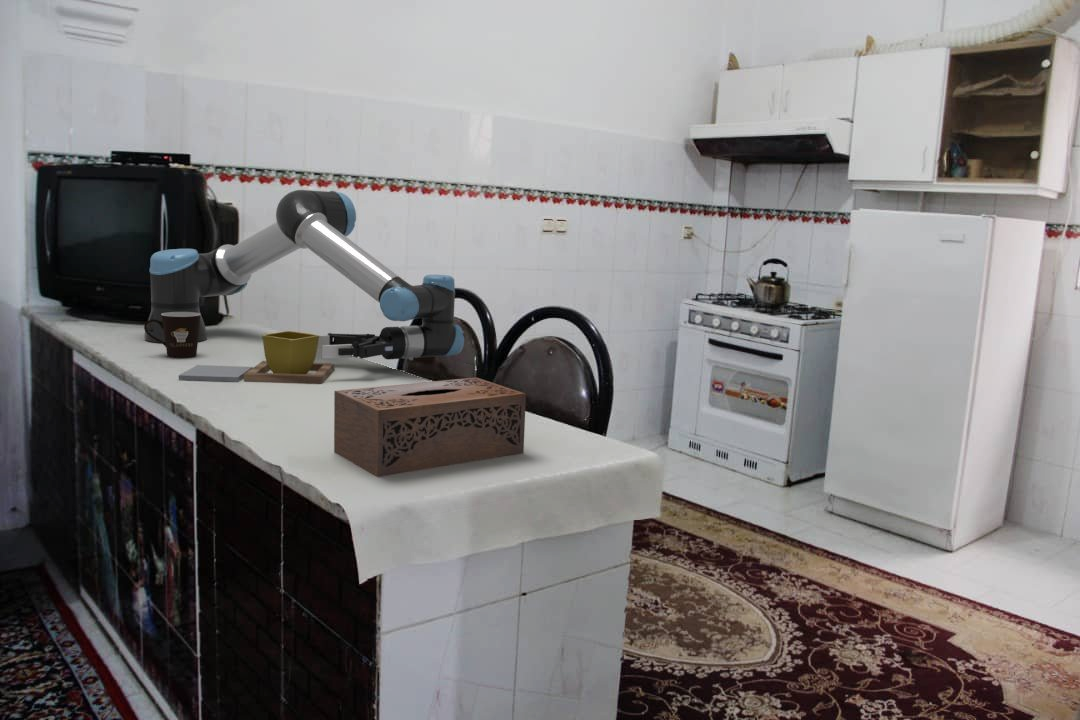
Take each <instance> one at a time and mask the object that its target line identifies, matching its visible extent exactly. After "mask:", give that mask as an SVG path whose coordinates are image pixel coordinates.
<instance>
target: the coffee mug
mask: <svg viewBox="0 0 1080 720" xmlns="http://www.w3.org/2000/svg"><path fill="white" fill-rule="evenodd" d="M200 316H202V313H200V314H199V313H193V312H169V313H163V314H161V317H162V322H161V321H159V320H156V319H152V320H149V321H148V320H147V321H146V322H145V324H144V326H143V327H144V328H143V330H144V333H145V332H146V333H147V334H148V335H149V336H150V337H151V338H153V339H155V340H156V341H158V342H157V343H159V342H160V344H162V345H163V347H165V348H166V349H165V350H166V354H167V355H166V356H167V358H170V359H192V358H196V357H197V355H198V354H197V352H198V346H199V345H198V344H199V343H198V342H199V341H198V335H199V326H200ZM150 322H157V323H158V324H160V326H161V327H162V329H163V330H164V336H165V342H163V341H161V340H159V339H158V338H156V337H154V336H153V335H151V334H150V333H149V332H148V331H147V328H146V327H147V324H148V323H150Z"/></svg>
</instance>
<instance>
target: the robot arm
mask: <svg viewBox="0 0 1080 720" xmlns="http://www.w3.org/2000/svg"><path fill="white" fill-rule="evenodd" d="M275 218H276V221H275V222H274V223H272V224H271V225H269V226H267V227H264V228H263V229H261V230H259V231H258V232H256V233H254V234H252V235H250V236H249V237H248V238H245V239H244V240H241V241H239V243H237V244H235V245H233V244H228V243H227V244H223V245H221V246H219V247H218V248H217V247H216V249H214V250H212V251H210V252H206V253H199V252H198V250H197V249H194V248H176V249H174V248H173V249H165V250H159V251H157V252H154V253H153V254H152V255H151V257H150V259H149V260H150V264H149V266H150V267H149V275H150V277H149V278H150V301H151V304H150V305H151V308H150V314H149V317H148V319H147V321H149V320H152V319H156V320H159V321H161V322H162V317H161V314H163V313H169V312H193V313H199V314H201V312H200V298H205V297H206V298H207V297H218V296H219V297H220V296H223V297H224V296H225V297H226V296H232V295H235V294H238V293H240V292H242V291H243V290H244V289H245V288H246V287H247V286H248V282H249V281H250V280H251V277H252V275H253V274H254V273H255V272H258V271H259V270H262V269H264V268H266V267H267V266H269V265H271V264H273V263H276V262H277V261H279V260H280V259H282V258H285V257H286V256H288V255H290V254H292V253H293V252H296V251H297V250H299V249H308V250H309V251H311V252H312V253H313V254H314V255H316V256H318V257H319V258H320V259H321V260H323V261H324V262H325V263H326V264H328V265H329V266H331V267H332V268H333V269H334V270H336V271H338V273H340V274H341V275H343V276H344V277H345V278H347V279H348V280H349V281H350V282H351V283H353V285H356V286H357V287H358V288H359V289H361V290H362V291H363V292H364V293H366V294H367V295H368V296H370V297H371V298H372V299H374V300H375V301H376V302H377V303H379V308H380V310H381V313H382V315H383V316H384V317H385V318H386V319H387V320H390V321H392V322H393V321H394V322H407V321H412V320H418V319H421V322H422V323H421V325H403V326H400V327H399V326H386V327H383V328H382V329H381V331H380V334H379V335H376V334H373V333H363V334H362V333H361V334H359V333H331V332H330V333H329V332H328V333H327V334H325V335H324V334H323V335H322V334H320V335H319V334H318V335H319V340H318V346H317V349H319V348H321V358H322V359H339V358H342V359H343V358H352V357H354V358H359V359H361V360H362V359H367V358H372V357H376V356H377V357H378V356H382V358H384V360H399V359H408V360H409V361H413V360H414V358H415V359H417V358H433V357H435V358H436V357H437V358H438V357H442V358H443V357H449V356H454V355H455V356H456V355H458V354H460V353H461V352H462V351H463V348H464V344H465V336H464V331H463V328H462V327H461V326H460V325H458V324H455V320H454V319H455V298H456V297H455V296H456V288H455V287H456V286H455V278H454V277H453V276H451V275H447V274H426V275H425V276H424V277H423V278H422V279H423V280H422V284H417V285H412V284H410V283H409V282H407V281H406V280H405V279H403V278H402V277H400V276H399V275H397V274H396V273H395V272H394V271H392V270H391V269H390V268H388V267H387V266H385V265H384V264H383V263H382V262H380V261H379V260H378V259H376V257H374V256H373V255H371V254H370V253H368V252H367V251H366V250H364V249H363V248H362V247H361V246H359V245H358V244H356V243H355V242H354V241H352V240H351V239H350V238H349V237H348V236H350V235H351V233H352V232H353V231H354V229H355V226H356V224H355V223H356V221H357V213H356V208H355V205H354V203H353V201H352V199H351V198H350V197H349V196H348V195H346V194H345V193H343V192H340V191H335V190H329V191H323V190H309V189H297V190H293V191H290V192H288V193H287V194H285V195H284V196H283V197H282V198H281V199H280V201H279V203H278V204H277V207H276V212H275ZM146 328H147V331H148V332H149V333H150V334H151V335H153V336H154V337H156V338H158V339H159V340H161V341H163V342H165V336H164V330H163V329H162V327H161V326H160V324H158V323H157V322H150V323H148V324H147V327H146ZM207 336H208V332H207V328H206V325H205V322H204V319H203V317H202V315H201V316H200V326H199V335H198V342H202V341H205V340H207V339H208V337H207ZM144 340H145V341H147V342H152V343H160V342H158V341H156V340H155V339H153V338H151V337H150V336H149V335H148V334H147V333H146V332H145V331H144ZM160 344H161V343H160Z"/></svg>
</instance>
